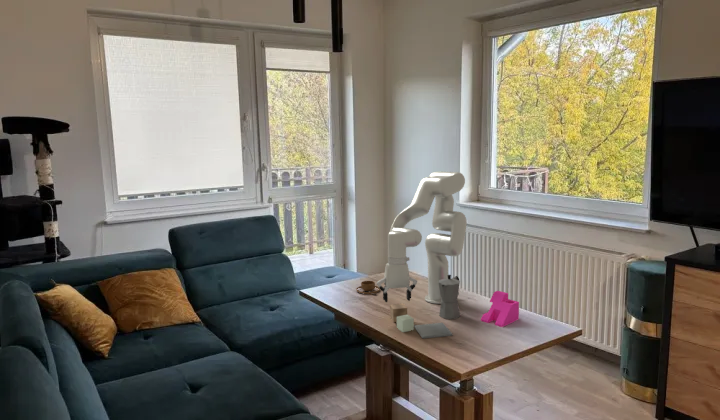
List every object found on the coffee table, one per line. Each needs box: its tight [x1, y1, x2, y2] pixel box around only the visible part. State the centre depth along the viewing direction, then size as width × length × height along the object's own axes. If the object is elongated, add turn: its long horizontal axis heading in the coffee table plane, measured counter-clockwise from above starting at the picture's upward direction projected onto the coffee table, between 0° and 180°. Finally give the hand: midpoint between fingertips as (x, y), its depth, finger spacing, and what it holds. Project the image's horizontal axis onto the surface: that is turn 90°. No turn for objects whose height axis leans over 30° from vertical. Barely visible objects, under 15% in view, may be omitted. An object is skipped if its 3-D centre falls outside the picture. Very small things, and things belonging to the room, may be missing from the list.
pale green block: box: [396, 314, 415, 333], centre depth 210 cm, size 5×5×5 cm
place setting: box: [355, 280, 381, 295], centre depth 262 cm, size 18×20×6 cm
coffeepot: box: [438, 274, 461, 320], centre depth 224 cm, size 15×9×18 cm, turn 144°
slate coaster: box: [414, 322, 453, 339], centre depth 207 cm, size 12×12×1 cm
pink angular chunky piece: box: [480, 290, 520, 328], centre depth 216 cm, size 12×10×10 cm
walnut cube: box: [389, 303, 408, 323], centre depth 221 cm, size 6×6×6 cm
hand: (397, 300), depth 219 cm, fingers open, 9 cm apart
